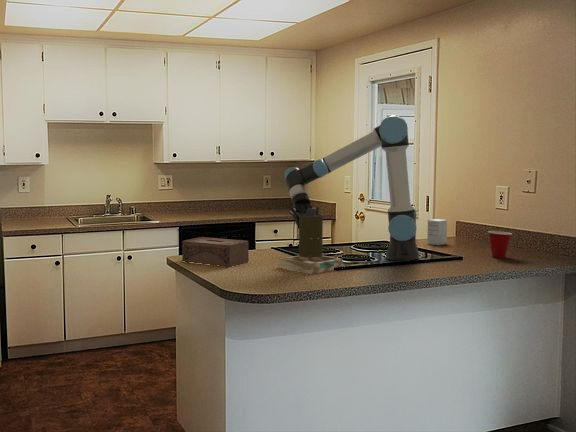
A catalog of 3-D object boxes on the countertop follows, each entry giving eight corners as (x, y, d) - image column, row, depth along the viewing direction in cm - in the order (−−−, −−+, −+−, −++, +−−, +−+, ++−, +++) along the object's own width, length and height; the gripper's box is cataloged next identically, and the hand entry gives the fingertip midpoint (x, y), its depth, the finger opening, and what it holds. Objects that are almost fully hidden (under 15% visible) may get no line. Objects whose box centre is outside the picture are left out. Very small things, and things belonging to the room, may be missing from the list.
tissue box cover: (182, 263, 312) (182, 240, 311) (201, 258, 325) (201, 236, 323) (230, 268, 299) (229, 245, 298) (248, 263, 312) (248, 240, 311)
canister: (325, 254, 301) (325, 207, 299) (319, 258, 291) (320, 210, 289) (300, 252, 304) (301, 207, 302) (294, 256, 294) (294, 209, 292)
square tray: (311, 262, 312) (311, 253, 312) (344, 268, 298) (344, 258, 297) (277, 267, 299) (277, 258, 298) (310, 274, 284) (310, 264, 284)
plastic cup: (516, 258, 322) (517, 232, 320) (497, 259, 318) (498, 233, 316) (500, 254, 332) (501, 229, 330) (482, 256, 327) (482, 230, 326)
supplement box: (435, 242, 371) (436, 218, 369) (447, 243, 365) (447, 219, 364) (426, 243, 366) (427, 219, 365) (438, 245, 360) (438, 221, 359)
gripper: (313, 202, 312) (328, 244, 299) (281, 203, 307) (295, 246, 293) (318, 191, 307) (333, 234, 293) (285, 192, 301) (299, 235, 288)
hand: (314, 240), depth 293 cm, fingers closed on canister, 2 cm apart
